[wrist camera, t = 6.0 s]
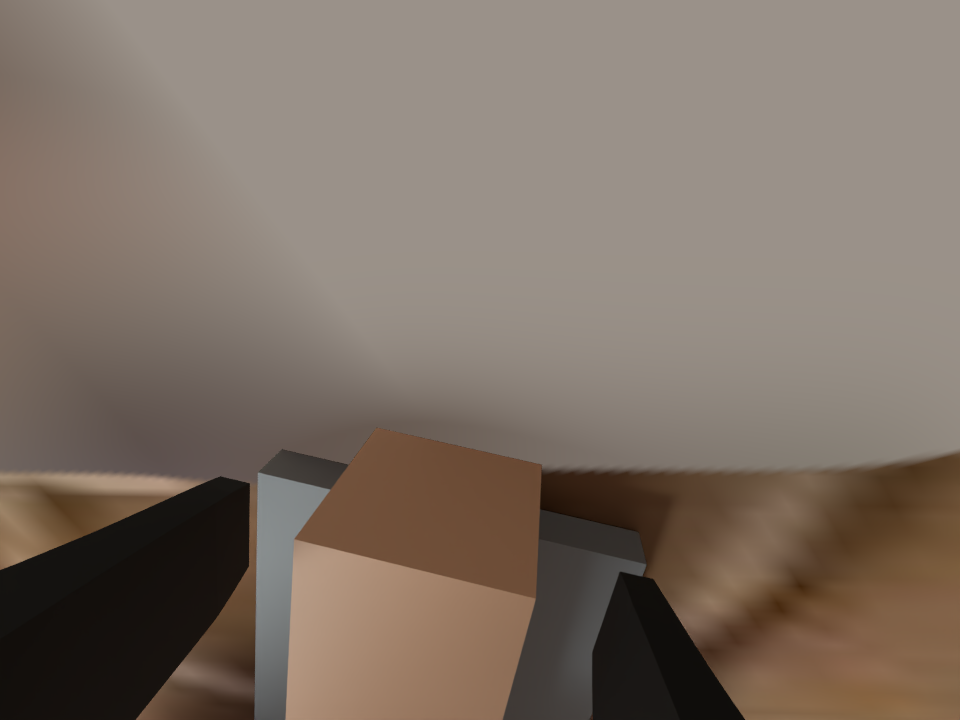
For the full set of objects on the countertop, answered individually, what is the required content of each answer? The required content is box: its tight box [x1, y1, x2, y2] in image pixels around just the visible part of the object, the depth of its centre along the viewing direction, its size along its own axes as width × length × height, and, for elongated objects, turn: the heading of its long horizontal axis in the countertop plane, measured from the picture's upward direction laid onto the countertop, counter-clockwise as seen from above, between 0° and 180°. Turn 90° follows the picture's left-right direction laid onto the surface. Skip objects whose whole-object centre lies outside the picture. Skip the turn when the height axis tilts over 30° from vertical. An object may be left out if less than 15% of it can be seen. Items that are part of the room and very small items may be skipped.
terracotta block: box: [285, 428, 542, 720], centre depth 12 cm, size 11×4×4 cm, turn 170°
